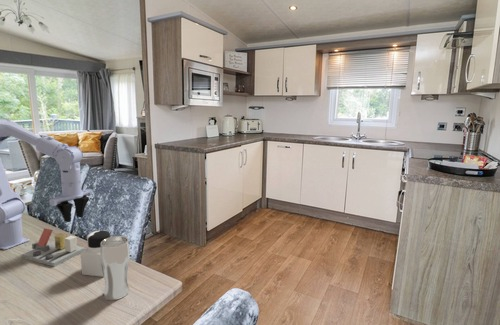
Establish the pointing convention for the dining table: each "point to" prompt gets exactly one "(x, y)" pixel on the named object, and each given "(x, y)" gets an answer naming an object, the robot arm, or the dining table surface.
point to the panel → (51, 254)
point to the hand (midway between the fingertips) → (73, 219)
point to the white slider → (70, 243)
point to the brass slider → (60, 241)
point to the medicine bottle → (93, 254)
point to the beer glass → (115, 266)
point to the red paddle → (44, 238)
